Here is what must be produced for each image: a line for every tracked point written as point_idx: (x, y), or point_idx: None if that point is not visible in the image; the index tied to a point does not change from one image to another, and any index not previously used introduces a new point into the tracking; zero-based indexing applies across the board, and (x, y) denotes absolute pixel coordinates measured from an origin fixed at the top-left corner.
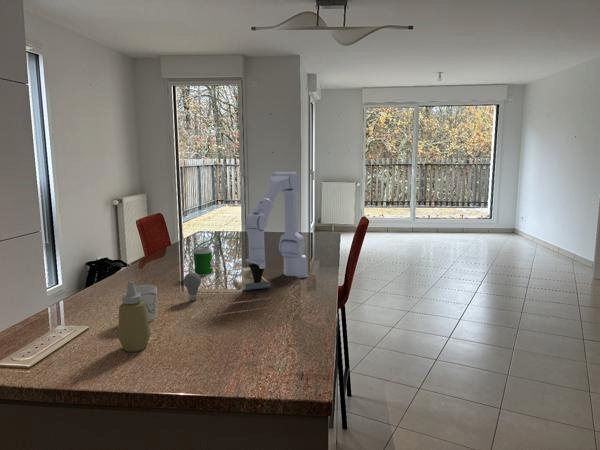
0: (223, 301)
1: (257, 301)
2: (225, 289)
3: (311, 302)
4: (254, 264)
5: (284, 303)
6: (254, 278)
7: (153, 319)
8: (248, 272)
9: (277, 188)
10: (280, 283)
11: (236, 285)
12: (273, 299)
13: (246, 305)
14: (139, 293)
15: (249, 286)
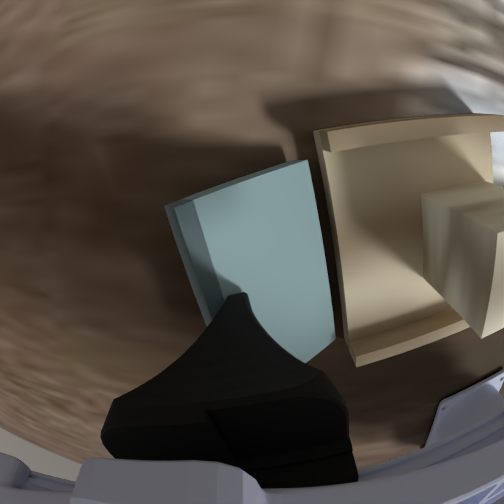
0: (100, 33)
1: (79, 261)
2: (398, 41)
3: (101, 444)
4: (248, 472)
5: (70, 375)
6: (211, 324)
7: None
8: (480, 260)
9: None
10: (406, 383)
11: (406, 119)
12: (118, 346)
13: (19, 196)
14: None
15: (176, 238)
